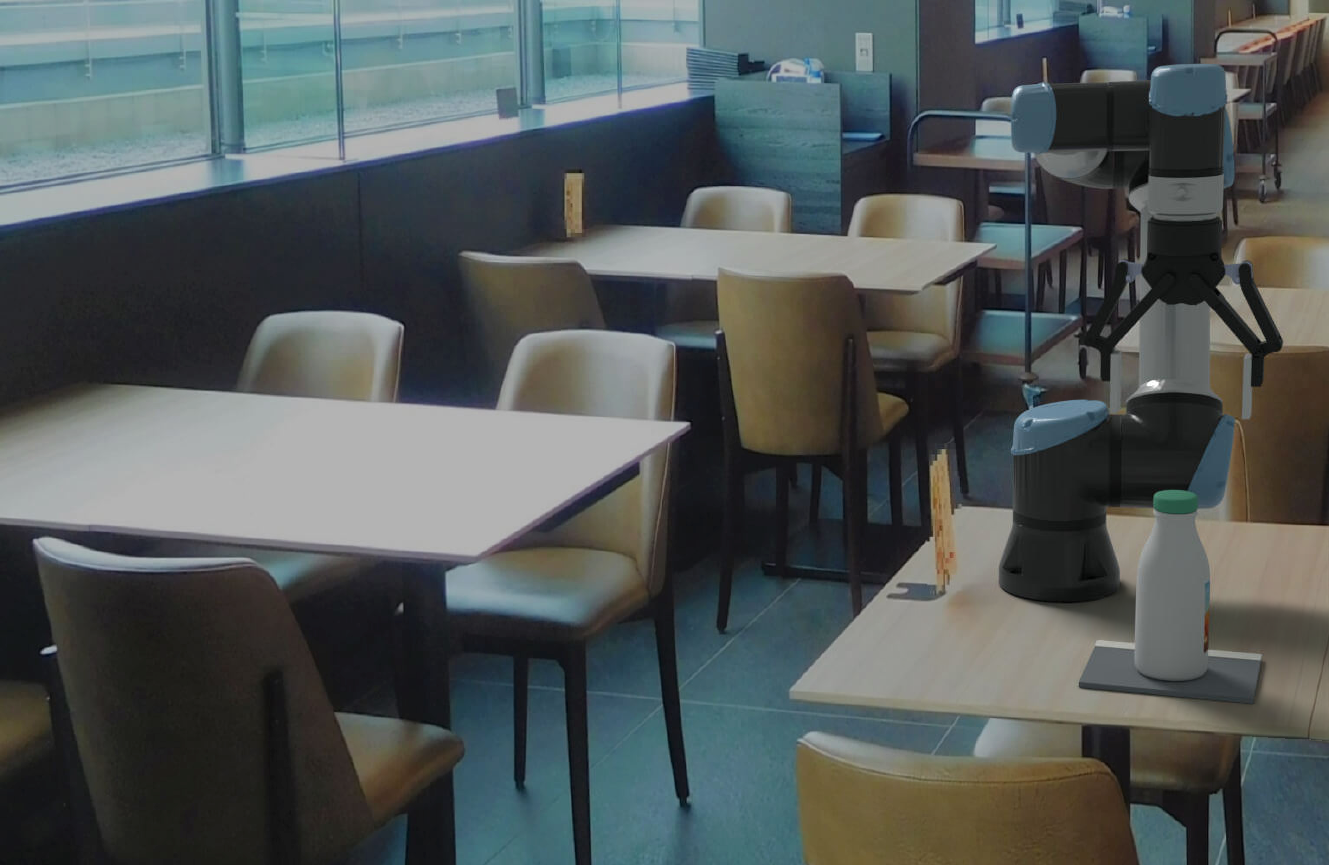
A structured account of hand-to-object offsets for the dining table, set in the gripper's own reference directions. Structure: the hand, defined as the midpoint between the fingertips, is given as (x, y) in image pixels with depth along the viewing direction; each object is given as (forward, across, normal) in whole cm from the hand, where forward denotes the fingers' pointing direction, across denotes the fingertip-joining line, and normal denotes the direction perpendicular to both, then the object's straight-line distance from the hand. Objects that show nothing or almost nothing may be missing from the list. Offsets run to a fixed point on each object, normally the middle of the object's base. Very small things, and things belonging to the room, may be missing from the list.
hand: (1180, 413), depth 191 cm
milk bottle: (+28, 0, -3) cm, 29 cm away
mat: (+29, 0, -2) cm, 29 cm away
